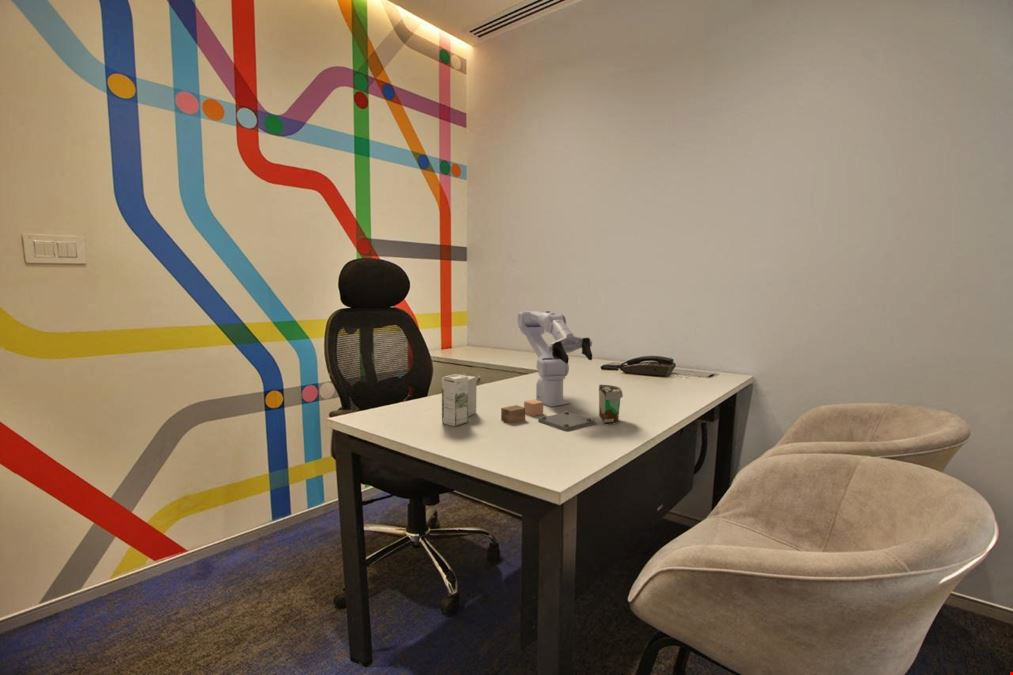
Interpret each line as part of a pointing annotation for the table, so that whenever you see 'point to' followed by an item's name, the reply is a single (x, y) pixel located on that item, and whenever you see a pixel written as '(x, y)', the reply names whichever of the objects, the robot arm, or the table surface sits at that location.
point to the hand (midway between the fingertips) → (579, 359)
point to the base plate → (566, 421)
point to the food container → (609, 403)
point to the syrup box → (454, 399)
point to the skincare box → (471, 395)
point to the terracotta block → (533, 407)
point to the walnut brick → (513, 414)
